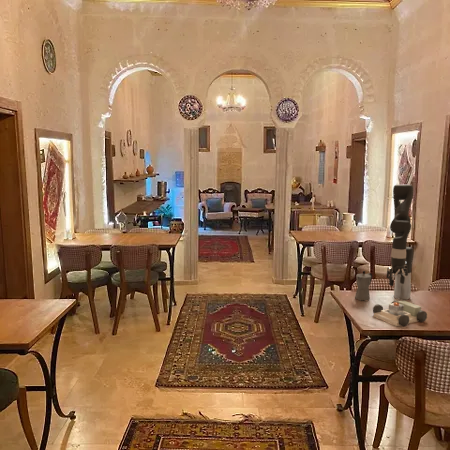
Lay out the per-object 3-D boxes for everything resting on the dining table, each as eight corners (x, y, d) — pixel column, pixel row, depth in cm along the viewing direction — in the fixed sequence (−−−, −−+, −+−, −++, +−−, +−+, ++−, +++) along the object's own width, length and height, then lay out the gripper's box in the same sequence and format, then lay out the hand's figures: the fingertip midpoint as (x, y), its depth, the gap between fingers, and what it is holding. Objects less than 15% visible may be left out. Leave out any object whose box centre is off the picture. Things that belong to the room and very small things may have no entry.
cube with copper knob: (395, 312, 249) (395, 300, 248) (403, 315, 245) (404, 303, 244) (388, 314, 247) (389, 302, 246) (396, 317, 242) (397, 305, 241)
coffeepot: (362, 302, 273) (364, 274, 270) (349, 298, 281) (351, 271, 278) (376, 297, 283) (378, 270, 280) (364, 294, 290) (365, 267, 287)
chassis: (398, 309, 261) (399, 298, 260) (427, 320, 244) (428, 308, 243) (371, 315, 251) (371, 303, 250) (399, 327, 233) (400, 314, 232)
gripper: (401, 253, 250) (400, 281, 253) (384, 256, 243) (382, 284, 246) (413, 256, 243) (411, 284, 246) (395, 259, 237) (393, 288, 239)
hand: (396, 284), depth 246 cm, fingers open, 8 cm apart
